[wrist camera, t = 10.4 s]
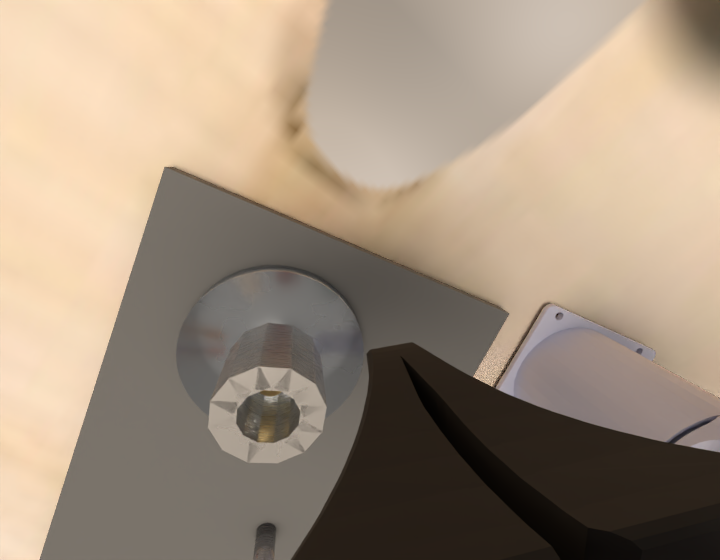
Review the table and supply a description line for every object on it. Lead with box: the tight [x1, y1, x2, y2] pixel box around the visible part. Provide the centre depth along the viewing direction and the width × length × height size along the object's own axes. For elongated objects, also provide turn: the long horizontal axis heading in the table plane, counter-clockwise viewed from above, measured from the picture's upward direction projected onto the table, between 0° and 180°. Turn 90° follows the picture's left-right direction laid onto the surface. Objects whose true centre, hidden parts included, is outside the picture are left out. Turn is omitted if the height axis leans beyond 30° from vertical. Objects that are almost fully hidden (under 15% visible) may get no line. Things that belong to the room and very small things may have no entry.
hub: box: [176, 265, 364, 418], centre depth 17 cm, size 9×9×3 cm
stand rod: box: [253, 523, 276, 560], centre depth 21 cm, size 1×1×2 cm
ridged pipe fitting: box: [208, 323, 327, 463], centre depth 16 cm, size 4×4×4 cm
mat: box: [40, 167, 509, 560], centre depth 21 cm, size 19×25×1 cm
